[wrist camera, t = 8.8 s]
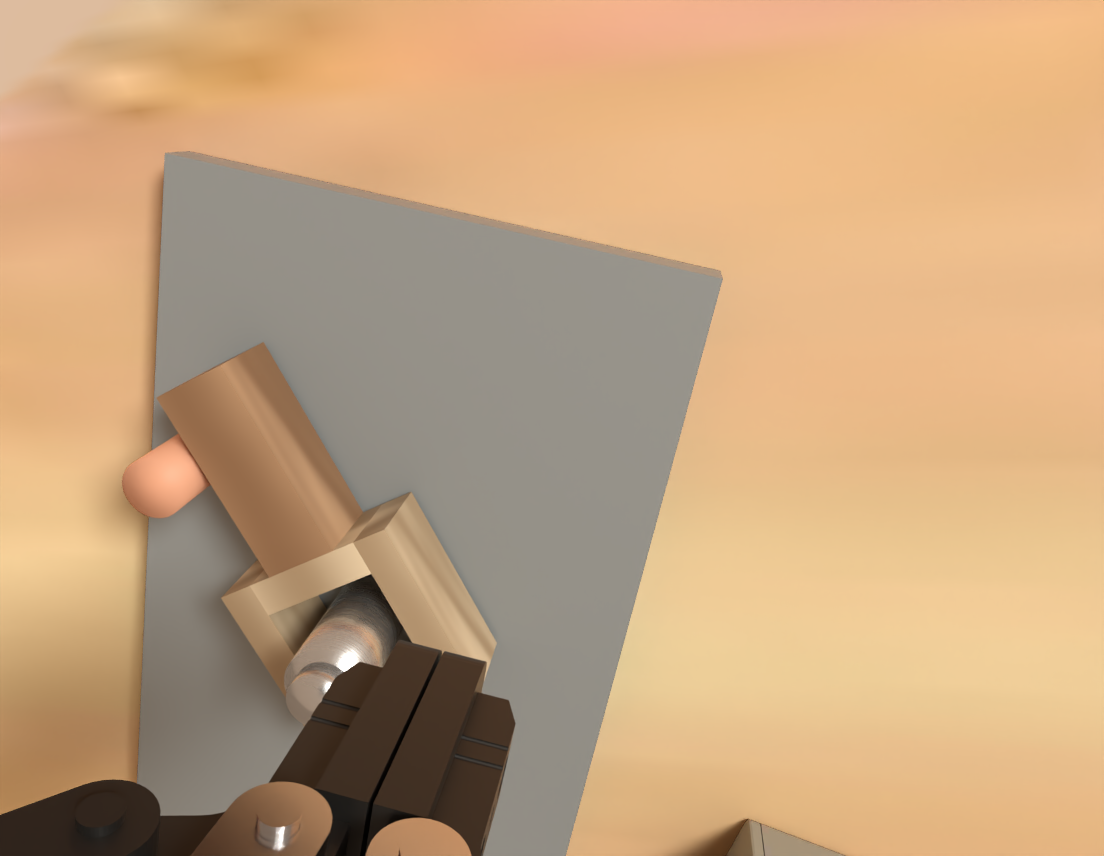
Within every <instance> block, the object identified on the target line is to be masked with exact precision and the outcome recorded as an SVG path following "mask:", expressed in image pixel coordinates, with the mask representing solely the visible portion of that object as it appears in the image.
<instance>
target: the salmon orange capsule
mask: <svg viewBox="0 0 1104 856" xmlns="http://www.w3.org/2000/svg"><path fill="white" fill-rule="evenodd" d="M210 485H211V484H210V483H209V481H208V479H207V478H206V476H205V475H204V473H203V471H202V470H201V468H200V467H199V465H198V464H197V462H196V460H195V459H194V457H193V456H192V454H191V452H190V451H189V449H188V448H187V446H186V444H185V443H184V441H183V440H182V438H181V436H180V435H179V434H177V435H175V436H174V437H172V438H171V439H169V440H168V441H166V442H164V443H163V444H161V445H160V446H158V447H156V448H155V449H153V450H152V451H150V452H149V453H147V454H145V455H144V456H142V457H141V458H139V459H137V460H136V461H134V462H133V463H131V464H130V465H129V466H128V467H127V468H126V470H125V472H124V474H123V479H122V486H123V490H124V493H125V496H126V498H127V499H128V501H129V502H130V504H131V505H132V506H133V507H134V508H135V509H136V510H138V511H139V512H141V513H142V514H144V515H146V516H149V517H153V518H165V517H169V516H171V515H173V514H174V513H176V512H177V511H178V510H179V509H181V508H182V507H183V506H184V505H186V504H187V503H188V502H190V501H191V500H192V499H193V498H195V497H196V496H197V495H198V494H200V493H201V492H202V491H203V490H205V489H206V488H207V487H209V486H210Z"/></svg>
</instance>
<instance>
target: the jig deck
mask: <svg viewBox="0 0 1104 856" xmlns="http://www.w3.org/2000/svg"><path fill="white" fill-rule="evenodd" d="M722 280H723V278H722V275H721V271H719V270H714V269H710V268H705V267H701V266H696V265H692V264H687V263H683V262H679V261H674V260H670V259H665V258H661V257H656V256H652V255H647V254H643V253H639V252H634V251H630V250H625V249H621V248H616V247H612V246H608V245H603V244H599V243H594V242H590V241H585V240H581V239H576V238H572V237H568V236H563V235H559V234H554V233H550V232H545V231H541V230H536V229H532V228H528V227H523V226H519V225H514V224H510V223H505V222H501V221H496V220H492V219H488V218H483V217H479V216H474V215H470V214H465V213H461V212H457V211H452V210H448V209H443V208H439V207H434V206H430V205H425V204H421V203H417V202H412V201H408V200H403V199H399V198H394V197H390V196H385V195H381V194H377V193H372V192H368V191H363V190H359V189H354V188H350V187H345V186H341V185H337V184H332V183H328V182H323V181H319V180H314V179H310V178H306V177H301V176H297V175H292V174H288V173H283V172H279V171H274V170H270V169H266V168H261V167H257V166H252V165H248V164H243V163H239V162H234V161H230V160H226V159H221V158H217V157H212V156H208V155H203V154H199V153H195V152H190V151H187V152H172V153H165V163H164V186H163V209H162V231H161V254H160V276H159V299H158V321H157V344H156V367H155V389H154V412H153V434H152V450H153V449H155V448H156V447H158V446H160V445H161V444H163V443H164V442H166V441H168V440H169V439H171V438H172V437H174V436H175V435H177V434H179V433H178V432H177V430H176V429H175V427H174V425H173V424H172V422H171V421H170V419H169V417H168V416H167V414H166V413H165V411H164V409H163V408H162V406H161V405H160V403H159V401H158V400H157V397H158V396H160V395H162V394H164V393H166V392H168V391H170V390H171V389H173V388H175V387H177V386H179V385H181V384H183V383H184V382H186V381H188V380H190V379H192V378H194V377H196V376H198V375H199V374H201V373H203V372H205V371H207V370H209V369H211V368H213V367H215V366H217V365H219V364H221V363H223V362H225V361H227V360H229V359H231V358H233V357H235V356H237V355H239V354H241V353H243V352H245V351H247V350H249V349H251V348H253V347H255V346H257V345H259V344H260V343H262V342H264V344H265V345H266V347H267V349H268V350H269V352H270V354H271V356H272V357H273V359H274V361H275V362H276V364H277V366H278V367H279V369H280V371H281V373H282V374H283V376H284V378H285V379H286V381H287V383H288V385H289V386H290V388H291V390H292V391H293V393H294V395H295V397H296V398H297V400H298V402H299V403H300V405H301V407H302V409H303V410H304V412H305V414H306V415H307V417H308V419H309V420H310V422H311V424H312V426H313V427H314V429H315V431H316V432H317V434H318V436H319V438H320V439H321V441H322V443H323V444H324V446H325V448H326V450H327V451H328V453H329V455H330V456H331V458H332V460H333V462H334V463H335V465H336V467H337V468H338V470H339V472H340V473H341V475H342V477H343V479H344V480H345V482H346V484H347V485H348V487H349V489H350V491H351V492H352V494H353V496H354V497H355V499H356V501H357V503H358V504H359V506H360V508H361V509H362V511H363V512H365V511H367V510H370V509H372V508H374V507H377V506H379V505H381V504H384V503H386V502H388V501H391V500H393V499H395V498H398V497H400V496H402V495H405V494H407V493H409V492H412V494H413V496H414V497H415V499H416V501H417V503H418V504H419V506H420V508H421V510H422V511H423V513H424V515H425V517H426V519H427V520H428V522H429V524H430V526H431V527H432V529H433V531H434V533H435V534H436V536H437V538H438V540H439V542H440V543H441V545H442V547H443V549H444V550H445V552H446V554H447V556H448V557H449V559H450V561H451V563H452V565H453V566H454V568H455V570H456V572H457V573H458V575H459V577H460V579H461V580H462V582H463V584H464V586H465V587H466V589H467V591H468V593H469V595H470V596H471V598H472V600H473V602H474V603H475V605H476V607H477V609H478V610H479V612H480V614H481V616H482V618H483V619H484V621H485V623H486V625H487V626H488V628H489V630H490V632H491V633H492V635H493V637H494V639H495V641H496V642H497V644H496V647H495V650H494V653H493V656H492V659H491V662H490V665H489V668H488V671H487V674H486V677H485V680H484V682H483V687H482V692H481V693H483V694H487V695H491V696H495V697H499V698H503V699H506V700H509V702H510V706H511V709H512V713H513V716H514V720H515V723H516V724H515V729H514V733H513V738H512V742H511V747H510V751H509V756H508V760H507V764H506V769H505V773H504V778H503V782H502V787H501V791H500V796H499V800H498V803H497V807H496V810H495V814H494V818H493V821H492V824H491V828H490V832H489V836H488V839H487V842H486V846H485V850H484V853H483V856H566V852H567V849H568V845H569V841H570V838H571V834H572V830H573V827H574V823H575V819H576V816H577V812H578V808H579V805H580V801H581V797H582V794H583V790H584V786H585V783H586V779H587V775H588V772H589V768H590V764H591V761H592V757H593V753H594V750H595V746H596V742H597V739H598V735H599V731H600V728H601V724H602V720H603V717H604V713H605V709H606V706H607V702H608V698H609V695H610V691H611V687H612V684H613V680H614V676H615V672H616V669H617V665H618V661H619V658H620V654H621V650H622V647H623V643H624V639H625V636H626V632H627V628H628V625H629V621H630V617H631V614H632V610H633V606H634V603H635V599H636V595H637V592H638V588H639V584H640V581H641V577H642V573H643V570H644V566H645V562H646V559H647V555H648V551H649V548H650V544H651V540H652V537H653V533H654V529H655V526H656V522H657V518H658V515H659V511H660V507H661V504H662V500H663V496H664V493H665V489H666V485H667V482H668V478H669V474H670V470H671V467H672V463H673V459H674V456H675V452H676V448H677V445H678V441H679V437H680V434H681V430H682V426H683V423H684V419H685V415H686V412H687V408H688V404H689V401H690V397H691V393H692V390H693V386H694V382H695V379H696V375H697V371H698V368H699V364H700V360H701V357H702V353H703V349H704V346H705V342H706V338H707V335H708V331H709V327H710V324H711V320H712V316H713V313H714V309H715V305H716V302H717V298H718V294H719V291H720V287H721V283H722ZM256 560H257V557H256V556H255V554H254V553H253V551H252V549H251V548H250V546H249V545H248V543H247V541H246V540H245V538H244V537H243V535H242V534H241V532H240V530H239V529H238V527H237V526H236V524H235V522H234V521H233V519H232V518H231V516H230V514H229V513H228V511H227V510H226V508H225V506H224V505H223V503H222V502H221V500H220V499H219V497H218V495H217V494H216V492H215V491H214V489H213V487H212V486H211V485H210V486H209V487H207V488H206V489H205V490H203V491H202V492H201V493H200V494H198V495H197V496H196V497H195V498H193V499H192V500H191V501H190V502H188V503H187V504H186V505H184V506H183V507H182V508H181V509H179V510H178V511H177V512H176V513H174V514H173V515H171V516H169V517H165V518H153V517H149V525H148V547H147V570H146V592H145V615H144V637H143V660H142V683H141V705H140V728H139V750H138V773H137V784H140V785H142V786H144V787H146V788H147V789H148V790H150V791H151V792H152V793H153V794H154V795H155V797H156V798H157V800H158V802H159V804H160V810H161V813H160V816H178V815H211V814H217V813H222V812H225V811H226V810H227V809H228V808H229V806H230V805H231V804H232V803H233V802H234V801H235V800H236V799H237V798H238V797H239V796H240V795H242V794H243V793H244V792H246V791H248V790H250V789H251V788H254V787H256V786H259V785H262V784H266V783H269V781H270V780H271V778H272V776H273V775H274V773H275V772H276V770H277V769H278V767H279V765H280V764H281V762H282V761H283V759H284V758H285V756H286V754H287V753H288V751H289V750H290V748H291V747H292V745H293V743H294V742H295V740H296V739H297V737H298V736H299V734H300V732H301V731H302V729H303V728H304V725H303V724H302V723H301V722H299V721H298V720H297V719H296V718H295V717H294V716H293V715H292V714H291V713H290V711H289V709H288V707H287V704H286V697H285V696H284V694H283V693H282V691H281V690H280V688H279V687H278V685H277V684H276V682H275V680H274V679H273V677H272V676H271V674H270V673H269V671H268V670H267V668H266V667H265V665H264V664H263V662H262V660H261V659H260V657H259V656H258V654H257V653H256V651H255V650H254V648H253V647H252V645H251V644H250V642H249V640H248V639H247V637H246V636H245V634H244V633H243V631H242V630H241V628H240V627H239V625H238V623H237V622H236V620H235V619H234V617H233V616H232V614H231V613H230V611H229V610H228V608H227V607H226V605H225V603H224V602H223V600H222V599H221V597H222V596H223V595H224V594H225V593H226V592H227V591H228V590H229V589H230V588H231V587H232V586H233V585H234V584H235V583H236V582H237V580H238V579H239V578H240V577H241V576H242V575H243V574H244V573H245V572H246V571H247V570H248V569H249V568H250V567H251V566H252V565H253V564H254V563H255V561H256ZM344 586H345V585H343V586H340V587H338V588H335V589H333V590H330V591H328V592H325V593H323V594H320V595H318V596H319V597H320V599H321V601H322V602H323V604H324V605H325V607H326V609H327V610H328V608H329V607H330V605H331V604H332V603H333V601H334V600H335V598H336V597H337V596H338V594H339V593H340V591H341V590H342V588H343V587H344ZM399 640H403V641H407V642H411V643H412V641H411V640H410V638H409V636H408V634H407V633H406V631H405V629H403V630H402V632H401V634H400V636H399V638H398V640H397V642H398V641H399ZM397 642H396V643H397ZM395 645H396V644H395ZM395 645H394V647H395ZM394 647H393V649H394ZM393 649H392V650H393Z"/></svg>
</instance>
